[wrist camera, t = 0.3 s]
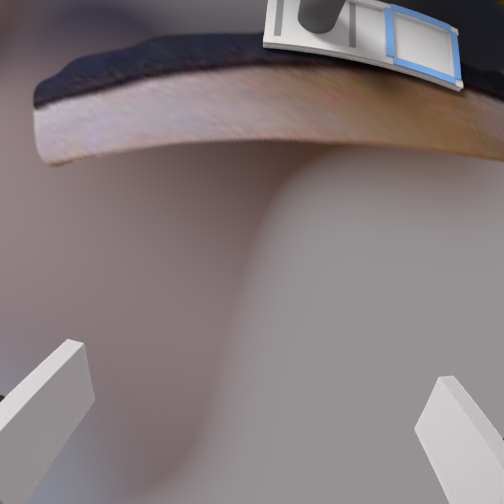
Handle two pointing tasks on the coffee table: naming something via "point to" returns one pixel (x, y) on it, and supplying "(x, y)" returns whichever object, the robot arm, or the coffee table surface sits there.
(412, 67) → the white divided tray
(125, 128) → the coffee table surface
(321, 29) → the grey and white cylinder
